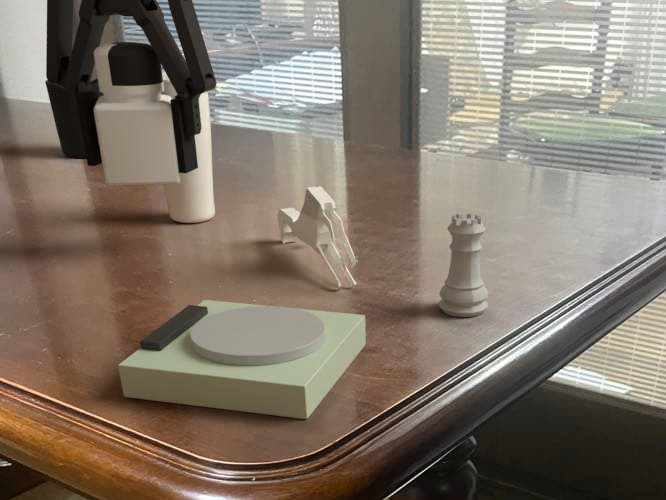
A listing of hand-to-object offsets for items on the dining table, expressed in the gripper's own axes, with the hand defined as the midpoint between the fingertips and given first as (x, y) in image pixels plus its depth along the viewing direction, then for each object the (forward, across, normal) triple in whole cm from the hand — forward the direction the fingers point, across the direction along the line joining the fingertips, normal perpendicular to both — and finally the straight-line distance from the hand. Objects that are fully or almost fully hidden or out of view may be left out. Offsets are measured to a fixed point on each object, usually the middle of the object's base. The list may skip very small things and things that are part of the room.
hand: (143, 166), depth 88 cm
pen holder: (+9, +34, -43) cm, 55 cm away
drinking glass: (+8, +2, -12) cm, 15 cm away
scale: (+8, -22, +27) cm, 36 cm away
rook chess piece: (+8, -36, +10) cm, 38 cm away
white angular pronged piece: (+8, -18, +1) cm, 20 cm away
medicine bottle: (+1, 0, 0) cm, 1 cm away
